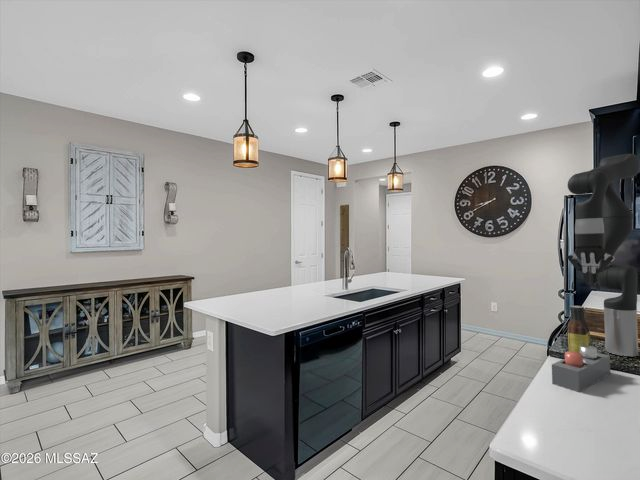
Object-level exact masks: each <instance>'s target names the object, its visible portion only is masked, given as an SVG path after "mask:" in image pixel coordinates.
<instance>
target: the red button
mask: <svg viewBox="0 0 640 480" xmlns="http://www.w3.org/2000/svg"><path fill="white" fill-rule="evenodd" d="M564 359H565V364H567V365H570V366H574V367H578V368H581V367H583V355H582V354H581V353H578V352H572V351H569V350H568V351H565V352H564Z"/></svg>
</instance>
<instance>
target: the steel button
mask: <svg viewBox="0 0 640 480" xmlns="http://www.w3.org/2000/svg"><path fill="white" fill-rule="evenodd" d="M580 353H581V354H582V355H583V358H586V359H590V360H594V361H595V360H597V353H598V347H595V346H592V345H591V346H588V345H581V346H580Z"/></svg>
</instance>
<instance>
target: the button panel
mask: <svg viewBox="0 0 640 480" xmlns="http://www.w3.org/2000/svg"><path fill="white" fill-rule="evenodd" d="M579 353H580V352H579ZM610 375H611V355H610V354H609V355H608V354H603V353H599V352H597V360H595V361H594V360H590V359H586V358H583V367H581V368H578V367H574V366H570V365H567V364H565V358H563V359H561V360H558V361H556V362H554V363H552V364H551V377H552V378H551V380H552V381H551V382H552V383H551V384H552V385H555V386H559V387H562V388H565V389H567V390H568V389H569V390H571V391H573V392H576V393H580V392H582V391H585V389H587V388H588V387H591V386H592V385H594V384H596V383H598V382H599V381H602V379H605V378H606V377H608V376H610Z"/></svg>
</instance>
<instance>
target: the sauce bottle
mask: <svg viewBox="0 0 640 480" xmlns="http://www.w3.org/2000/svg"><path fill="white" fill-rule="evenodd" d="M569 311H570V320H569V321H568V322H567V341H568V342H567V343H568V351H572V352H578V353H579V352H580V346H581V345H588V346H592V345H591V334H590V333H591V332H590V331H591V330H590V328H589V326H588V323H587V321H586V319H585V307H584V306H581V305H570V306H569Z"/></svg>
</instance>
